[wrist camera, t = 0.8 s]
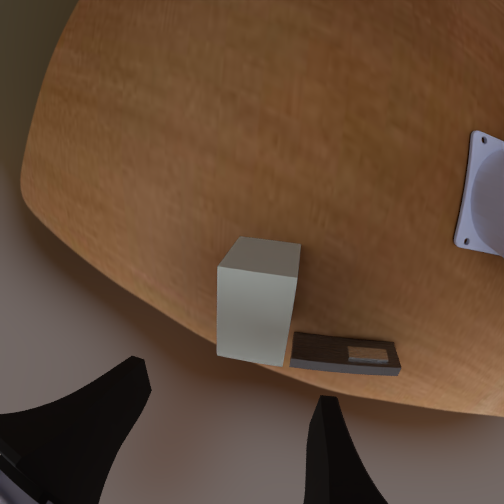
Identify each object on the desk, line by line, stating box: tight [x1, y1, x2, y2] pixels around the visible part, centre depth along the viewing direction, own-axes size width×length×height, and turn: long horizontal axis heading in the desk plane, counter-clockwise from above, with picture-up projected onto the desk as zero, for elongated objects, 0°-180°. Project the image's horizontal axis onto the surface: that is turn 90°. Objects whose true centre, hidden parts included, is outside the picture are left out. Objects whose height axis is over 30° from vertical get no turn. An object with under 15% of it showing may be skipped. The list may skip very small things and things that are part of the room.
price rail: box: [289, 332, 401, 376], centre depth 19 cm, size 8×1×3 cm, turn 86°
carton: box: [217, 236, 301, 367], centre depth 18 cm, size 4×6×5 cm
